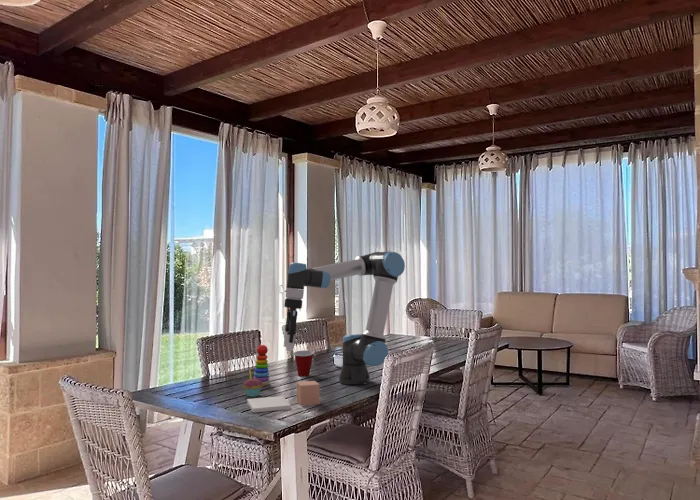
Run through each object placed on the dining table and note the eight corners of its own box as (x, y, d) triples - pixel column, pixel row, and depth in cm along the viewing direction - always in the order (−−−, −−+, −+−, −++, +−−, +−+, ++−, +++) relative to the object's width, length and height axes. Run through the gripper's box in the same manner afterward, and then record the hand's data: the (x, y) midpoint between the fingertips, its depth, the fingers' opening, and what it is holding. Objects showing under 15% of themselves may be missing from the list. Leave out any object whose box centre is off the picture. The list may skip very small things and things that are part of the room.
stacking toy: (266, 386, 244) (266, 346, 245) (250, 385, 246) (250, 346, 246) (272, 383, 252) (272, 344, 253) (256, 382, 254) (256, 343, 254)
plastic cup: (289, 376, 266) (289, 353, 267) (299, 372, 276) (299, 349, 277) (308, 378, 262) (308, 354, 262) (317, 374, 272) (317, 351, 272)
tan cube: (314, 399, 222) (315, 380, 222) (319, 403, 215) (319, 384, 216) (296, 401, 219) (296, 382, 220) (300, 405, 213) (300, 385, 213)
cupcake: (253, 398, 223) (253, 370, 223) (238, 396, 227) (238, 368, 228) (266, 394, 230) (266, 367, 230) (252, 391, 235) (252, 365, 235)
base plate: (282, 399, 222) (282, 396, 222) (290, 409, 207) (290, 405, 207) (247, 402, 217) (247, 399, 217) (252, 412, 202) (252, 408, 202)
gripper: (282, 297, 235) (277, 344, 233) (287, 298, 211) (281, 351, 209) (299, 298, 237) (293, 346, 235) (306, 300, 212) (300, 353, 210)
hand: (288, 348), depth 222 cm, fingers open, 13 cm apart
